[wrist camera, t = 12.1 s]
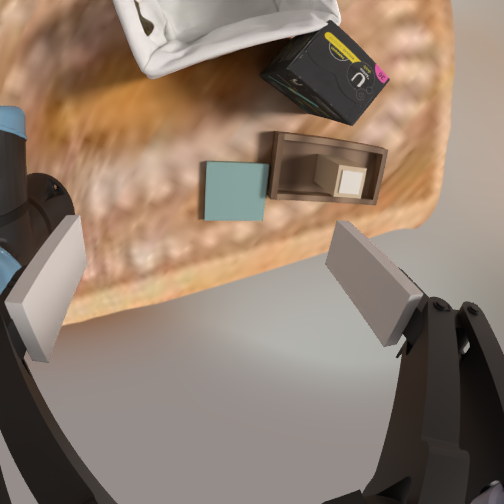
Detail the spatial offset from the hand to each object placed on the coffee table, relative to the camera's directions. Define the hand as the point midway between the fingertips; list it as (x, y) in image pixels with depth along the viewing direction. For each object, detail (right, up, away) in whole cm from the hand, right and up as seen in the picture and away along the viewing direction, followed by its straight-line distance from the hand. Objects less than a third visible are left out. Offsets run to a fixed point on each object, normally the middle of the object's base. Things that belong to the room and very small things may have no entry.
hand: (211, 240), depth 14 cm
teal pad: (-1, +10, +34) cm, 35 cm away
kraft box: (+15, +14, +35) cm, 40 cm away
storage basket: (-4, +35, +18) cm, 40 cm away
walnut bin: (+15, +14, +35) cm, 41 cm away
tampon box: (+10, +28, +26) cm, 39 cm away
